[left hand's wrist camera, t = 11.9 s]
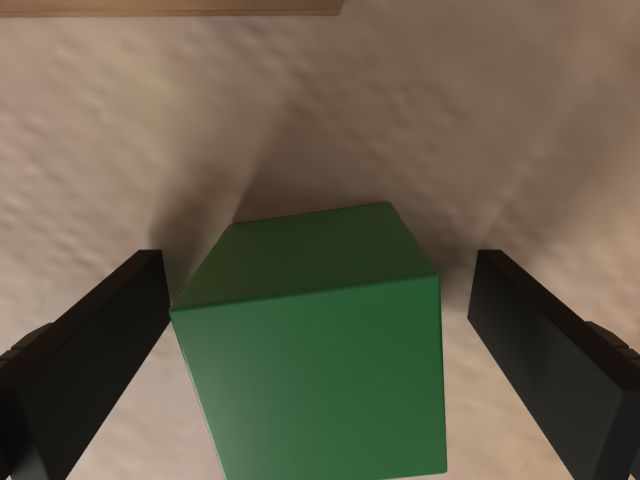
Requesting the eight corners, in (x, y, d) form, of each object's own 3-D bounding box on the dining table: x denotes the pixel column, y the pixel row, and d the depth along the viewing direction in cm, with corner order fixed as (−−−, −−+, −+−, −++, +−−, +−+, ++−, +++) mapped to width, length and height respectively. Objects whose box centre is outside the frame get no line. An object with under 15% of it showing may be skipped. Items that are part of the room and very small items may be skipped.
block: (390, 200, 12) (441, 273, 7) (402, 339, 14) (448, 474, 9) (228, 224, 13) (165, 309, 8) (261, 356, 15) (228, 497, 9)
